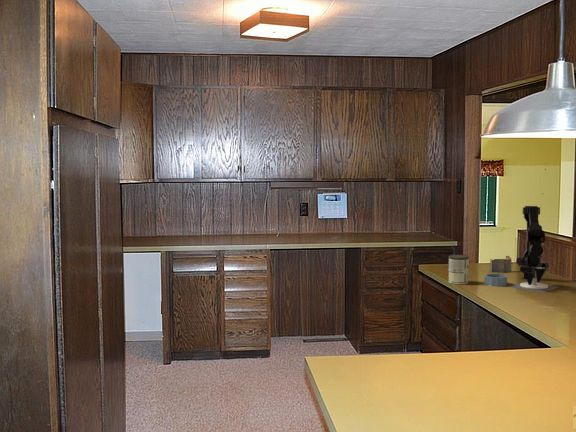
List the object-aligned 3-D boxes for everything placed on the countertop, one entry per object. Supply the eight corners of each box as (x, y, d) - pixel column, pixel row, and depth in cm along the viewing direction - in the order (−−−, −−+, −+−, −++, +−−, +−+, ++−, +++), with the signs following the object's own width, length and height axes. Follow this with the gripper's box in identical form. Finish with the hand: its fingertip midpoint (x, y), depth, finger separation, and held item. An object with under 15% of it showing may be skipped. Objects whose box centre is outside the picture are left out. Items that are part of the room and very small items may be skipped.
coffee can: (446, 280, 320) (447, 254, 319) (466, 280, 319) (466, 254, 318) (449, 284, 310) (450, 257, 309) (470, 284, 309) (470, 257, 308)
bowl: (491, 282, 315) (491, 272, 314) (510, 285, 306) (511, 275, 306) (480, 285, 308) (480, 275, 307) (499, 288, 299) (500, 278, 299)
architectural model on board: (509, 271, 344) (509, 255, 343) (511, 272, 341) (511, 256, 340) (489, 272, 344) (490, 255, 343) (491, 273, 341) (492, 256, 340)
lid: (527, 283, 308) (528, 274, 307) (552, 286, 298) (552, 278, 298) (515, 286, 299) (515, 278, 299) (540, 290, 290) (540, 281, 289)
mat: (525, 282, 311) (525, 281, 311) (559, 287, 298) (559, 286, 298) (508, 287, 300) (508, 286, 300) (542, 293, 286) (542, 292, 286)
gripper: (528, 249, 309) (527, 278, 311) (510, 253, 297) (509, 283, 299) (549, 251, 301) (548, 281, 302) (531, 255, 289) (530, 287, 290)
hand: (533, 283), depth 299 cm, fingers open, 8 cm apart
